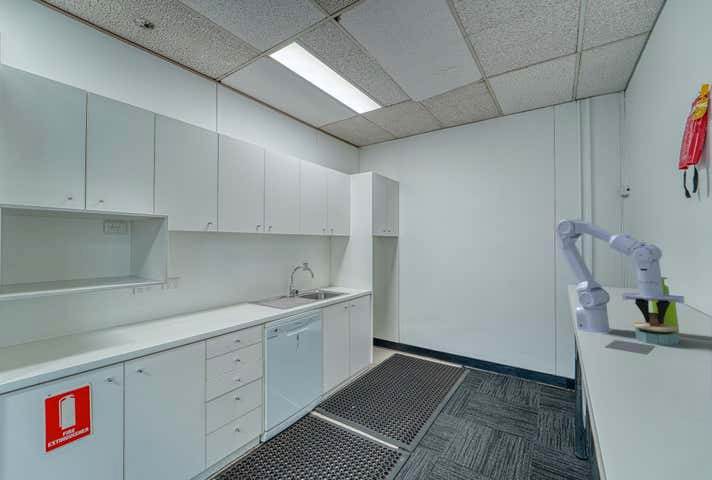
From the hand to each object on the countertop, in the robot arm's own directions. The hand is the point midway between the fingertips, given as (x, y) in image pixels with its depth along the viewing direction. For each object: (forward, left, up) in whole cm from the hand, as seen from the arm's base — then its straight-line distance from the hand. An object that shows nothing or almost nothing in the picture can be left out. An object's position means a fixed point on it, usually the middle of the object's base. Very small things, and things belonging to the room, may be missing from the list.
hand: (654, 322), depth 100 cm
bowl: (0, 0, -6) cm, 6 cm away
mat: (-4, -12, -6) cm, 14 cm away
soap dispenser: (0, +12, -6) cm, 14 cm away
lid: (0, 0, -2) cm, 2 cm away
